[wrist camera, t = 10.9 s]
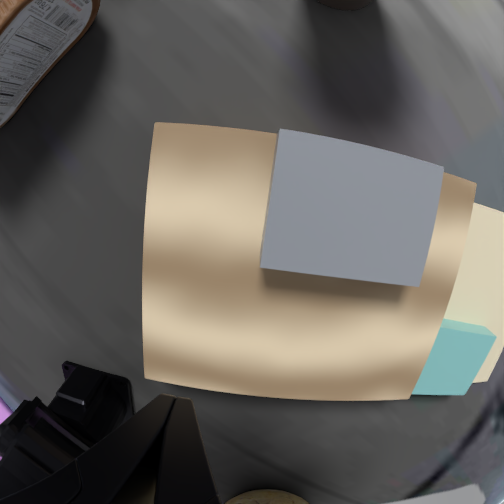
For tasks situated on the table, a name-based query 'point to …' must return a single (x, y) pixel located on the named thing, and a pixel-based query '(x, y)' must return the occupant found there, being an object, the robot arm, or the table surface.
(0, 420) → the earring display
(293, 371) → the wooden block
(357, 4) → the coffee cup
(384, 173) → the gray rectangular block
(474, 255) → the mat
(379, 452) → the table surface
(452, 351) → the teal block
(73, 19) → the tin
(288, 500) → the fossilized egg
